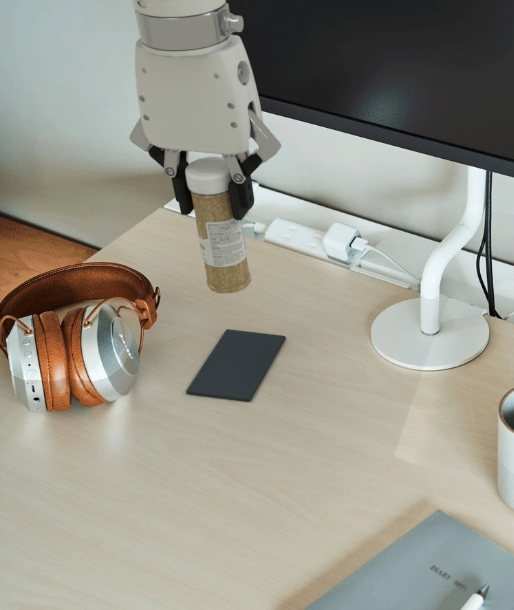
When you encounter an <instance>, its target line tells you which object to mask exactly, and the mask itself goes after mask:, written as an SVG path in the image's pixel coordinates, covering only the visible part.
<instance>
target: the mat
mask: <svg viewBox="0 0 514 610" xmlns="http://www.w3.org/2000/svg"><path fill="white" fill-rule="evenodd" d="M285 341H286V335H283V334H281V335H280V334H273V333H266V332H265V333H263V332H256V331H246V330H237V329H230V328H227V329H225V331H224V332H223V334H222V335H221V337H220V338H219V340H218V342H217V343H216V344H215V346H214V347H213V350H212V351H211V352H210V354H209V355H208V357H207V358H206V360H205V361H204V363H203V365H202V366H201V367H200V369H199V371H198V372H197V374H196V375H195V377H194V378H193V380H192V381H191V383H190V384H189V386H188V387H187V388H186V390H185V394H186V395H192V396H199V397H207V398H216V399H222V400H223V399H224V400H230V401H231V400H232V401H240V402H247V403H250V402H251V401H252V399H253V398H254V395H255V394H256V392H257V390H258V388H259V387H260V385H261V383H262V382H263V380H264V377H265V376H266V374H267V373H268V371H269V369H270V368H271V365H272V364H273V362H274V360H275V358H276V356H277V355H278V353H279V351H280V350H281V348H282V346H283V345H284V342H285Z"/></svg>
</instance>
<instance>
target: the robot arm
mask: <svg viewBox="0 0 514 610" xmlns="http://www.w3.org/2000/svg"><path fill="white" fill-rule="evenodd" d="M132 4H133V8H134V14H135V19H136V23H137V28H138V33H139V39H137V40H136V42H135V47H134V48H135V50H134V76H135V87H136V96H137V103H138V109H139V115H140V116H139V118H138V120H137V122H136V124H135V126H134V127H133V129H132V130H131V132H130V134H129V136H128V137H129V140H130V142H131V143H132V144H133V145H135V146H137V147H138V148H140V149H141V150H143V151H144V152H145V153H148V155H149V157H150V158H151V159H152V160H153V161H155V162H156V163H157V164H158V165H159V166H161V167H162V168H163V172H164V174H165V176H166V177H168V178H170V179H171V183H172V188H173V194H174V197H175V201H176V202H177V203H178V206H179V210H180V214H181V216H189V215H190V214H191V213H192V212H193V211H194V206H193V201H192V195H191V191H190V189H189V188H188V185H187V180H186V174H185V169H186V167H187V166H188V165H189V164H190V163H189V156H190V154H189V153H190V152H191V153H192V152H193V153H201V154H202V153H204V154H214V155H215V154H216V155H221V157H222V158H224V160H225V163H226V165H227V168H228V170H229V172H230V175H231V177H232V180H231V181H230V182H229V184H228V190H229V196H230V202H231V208H232V214H233V218H235V220H242V221H243V219H244V218H245V216H246V215H247V214H248V212H249V211H250V210H252V208H253V207H254V205H255V193H254V187H253V180H252V174H253V173H254V172H255V171H256V170H257V169H258V168H259V167H260V166H261V165H263V164H265V163H266V162H267V161H269V160H270V159H272V158H274V157H275V156H276V155H277V154H278V152H279V151H280V150H281V149H282V144H281V142H280V140H278V138H277V137H276V136H275V134H273V133H272V132H271V130H270V128H268V127H267V126H266V125H265V123H264V119H263V117H264V116H263V113H262V107H261V102H260V97H259V92H258V88H257V84H256V80H255V76H254V72H253V68H252V66H251V63H250V59H249V56H248V54H247V50H246V48H245V45H244V42H243V41H242V38H241V37H240V36H239V35H236V34H234V33H236V32H237V33H242V32H243V30H244V27H245V22H244V18H243V16H242V15H236V14H234V13H231V12H230V6H229V3H228V2H227V0H132ZM250 139H252V140H253V141H254V142H255V143H256V144H257V146H258V148H256V149H254V150H253V151H252V152H250V150H249V147H250V141H249V140H250Z"/></svg>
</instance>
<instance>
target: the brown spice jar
mask: <svg viewBox="0 0 514 610" xmlns="http://www.w3.org/2000/svg"><path fill="white" fill-rule="evenodd" d="M185 174H186V180H187V185H188V188H189V189H190V191H191V195H192V201H193V206H194V210H193V211H194V215H195V224H196V230H197V231H196V232H197V235H198V242H199V247H200V251H201V257H202V260H203V264H204V269H205V276H206V285H207V287H208V289H210V291H212V292H214V293H216V294H227V295H228V294H234V293H238V292H241V291H244V290H245V289H246V288H248V287H249V286H250V284H251V283H252V274H251V272H250V268H249V263H248V251H247V243H246V239H245V232H244V225H243V219H242V220H235V218H233V214H232V208H231V202H230V196H229V190H228V184H229V182H230V181H231V180H232V177H231V175H230V172H229V170H228V168H227V165H226V163H225V160H224V158H223V156H205V157H201V158H197V159H195V160H193V161H191V162H190V163H189V165H188V166H187V167H186V169H185Z"/></svg>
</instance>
